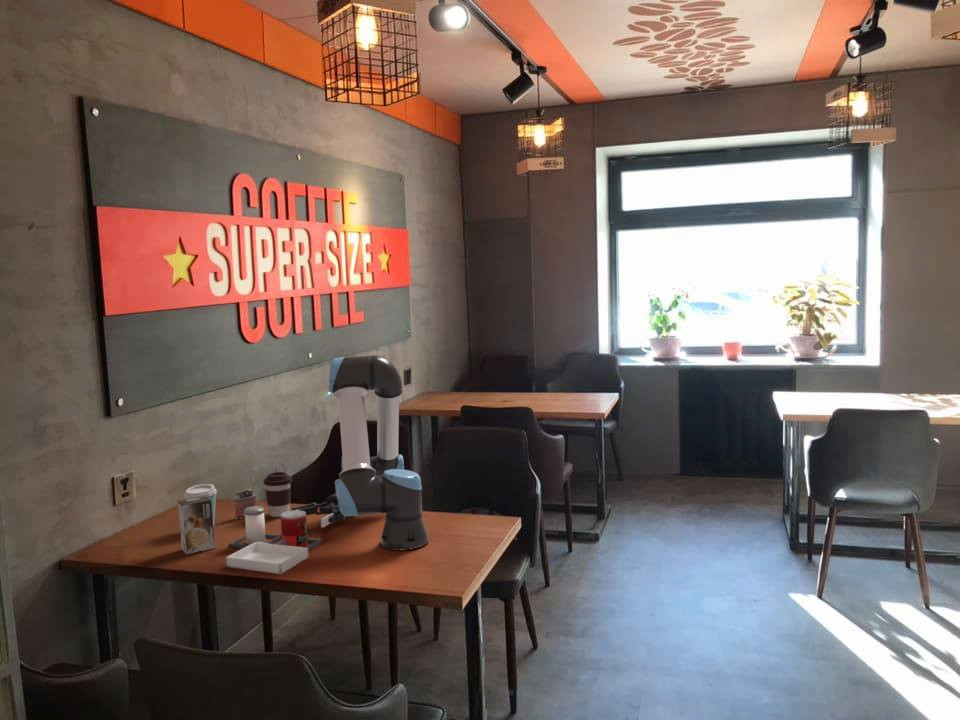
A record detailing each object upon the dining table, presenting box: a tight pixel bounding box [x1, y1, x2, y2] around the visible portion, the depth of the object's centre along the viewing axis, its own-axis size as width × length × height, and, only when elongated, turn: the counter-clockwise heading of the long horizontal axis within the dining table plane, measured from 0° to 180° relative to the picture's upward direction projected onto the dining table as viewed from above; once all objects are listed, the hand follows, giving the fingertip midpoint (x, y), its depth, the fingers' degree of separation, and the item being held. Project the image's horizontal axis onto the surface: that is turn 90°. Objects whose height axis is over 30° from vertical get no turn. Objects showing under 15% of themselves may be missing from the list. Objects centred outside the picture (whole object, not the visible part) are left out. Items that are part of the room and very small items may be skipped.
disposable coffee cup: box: [183, 483, 218, 527], centre depth 272 cm, size 11×11×15 cm
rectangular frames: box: [228, 532, 323, 552], centre depth 256 cm, size 27×12×1 cm, turn 68°
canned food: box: [280, 509, 308, 548], centre depth 253 cm, size 8×8×11 cm
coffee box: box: [177, 496, 216, 555], centre depth 253 cm, size 9×6×16 cm
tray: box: [225, 542, 309, 575], centre depth 240 cm, size 19×14×3 cm
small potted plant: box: [233, 488, 257, 519], centre depth 287 cm, size 8×3×10 cm, turn 130°
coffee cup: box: [263, 471, 293, 518], centre depth 288 cm, size 10×10×15 cm
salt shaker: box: [244, 505, 267, 545], centre depth 258 cm, size 6×6×11 cm
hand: (303, 521), depth 259 cm, fingers open, 13 cm apart
